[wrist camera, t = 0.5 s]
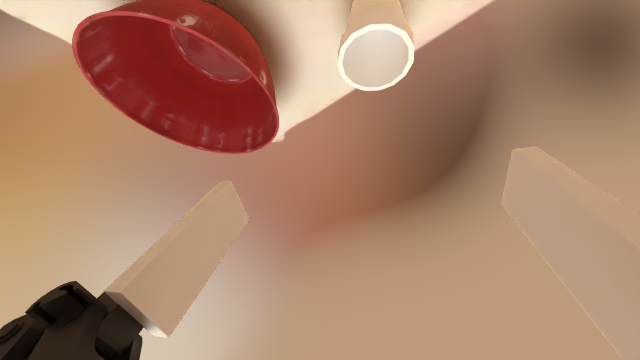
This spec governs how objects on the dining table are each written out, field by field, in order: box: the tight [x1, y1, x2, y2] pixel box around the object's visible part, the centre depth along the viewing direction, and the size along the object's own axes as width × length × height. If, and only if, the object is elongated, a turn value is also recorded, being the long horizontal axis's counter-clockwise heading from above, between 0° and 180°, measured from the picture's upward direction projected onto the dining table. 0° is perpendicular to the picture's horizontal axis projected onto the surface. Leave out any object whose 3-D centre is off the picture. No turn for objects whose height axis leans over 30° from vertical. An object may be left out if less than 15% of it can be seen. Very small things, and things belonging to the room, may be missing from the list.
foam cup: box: [337, 0, 414, 91], centre depth 32 cm, size 10×9×13 cm
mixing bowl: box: [72, 0, 279, 154], centre depth 40 cm, size 28×28×16 cm
